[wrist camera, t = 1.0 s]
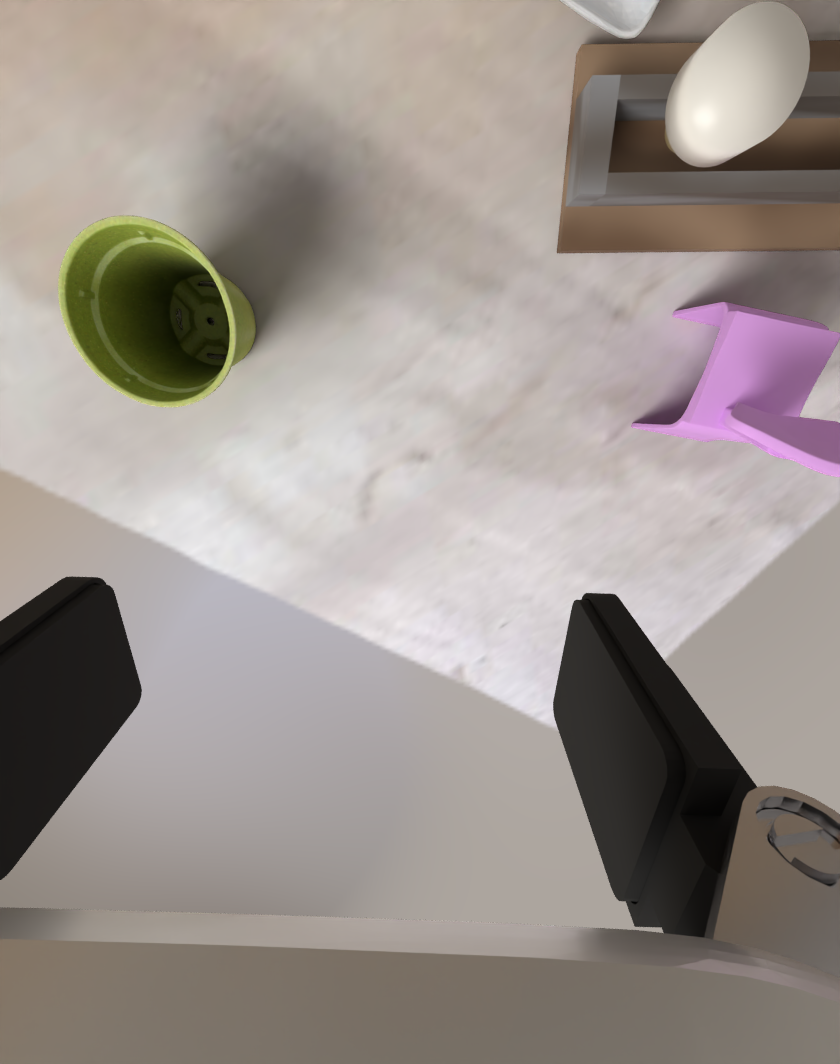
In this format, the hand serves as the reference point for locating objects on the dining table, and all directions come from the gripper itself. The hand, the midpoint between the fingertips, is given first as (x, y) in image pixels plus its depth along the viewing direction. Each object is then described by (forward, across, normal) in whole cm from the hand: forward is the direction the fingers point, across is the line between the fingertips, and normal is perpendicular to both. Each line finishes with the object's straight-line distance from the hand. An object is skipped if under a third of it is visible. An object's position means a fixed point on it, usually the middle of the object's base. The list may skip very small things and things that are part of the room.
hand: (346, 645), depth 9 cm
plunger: (+23, -15, -16) cm, 32 cm away
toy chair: (+28, -21, -4) cm, 36 cm away
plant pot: (+28, +14, -6) cm, 32 cm away
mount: (+28, -21, -16) cm, 39 cm away
